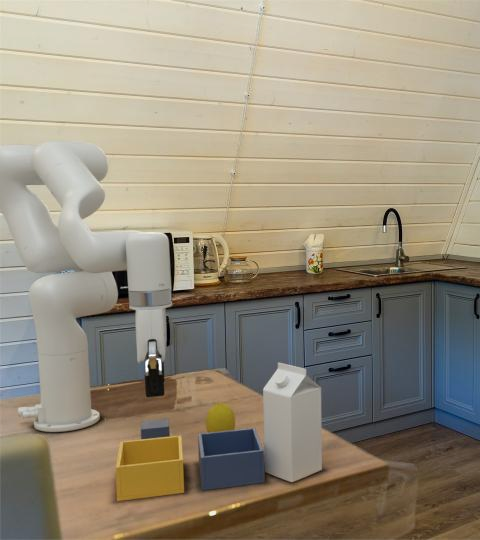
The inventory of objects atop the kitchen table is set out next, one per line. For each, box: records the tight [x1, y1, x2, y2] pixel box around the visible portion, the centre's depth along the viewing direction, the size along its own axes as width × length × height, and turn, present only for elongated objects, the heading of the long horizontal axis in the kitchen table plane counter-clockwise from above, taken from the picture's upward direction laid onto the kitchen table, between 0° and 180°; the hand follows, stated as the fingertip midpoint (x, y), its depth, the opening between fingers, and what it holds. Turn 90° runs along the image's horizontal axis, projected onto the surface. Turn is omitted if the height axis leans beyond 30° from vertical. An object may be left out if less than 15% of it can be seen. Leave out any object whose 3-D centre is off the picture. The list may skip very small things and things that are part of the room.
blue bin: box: [197, 427, 266, 491], centre depth 126 cm, size 10×12×6 cm
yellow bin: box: [115, 435, 185, 502], centre depth 122 cm, size 10×12×6 cm
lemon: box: [205, 402, 236, 433], centre depth 141 cm, size 6×6×8 cm
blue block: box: [140, 418, 171, 440], centre depth 137 cm, size 5×5×5 cm
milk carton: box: [262, 362, 323, 483], centre depth 126 cm, size 7×7×19 cm
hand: (155, 389), depth 136 cm, fingers open, 9 cm apart
